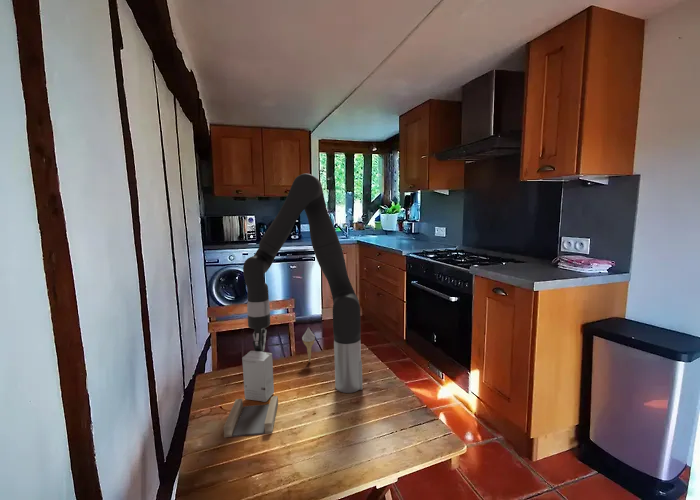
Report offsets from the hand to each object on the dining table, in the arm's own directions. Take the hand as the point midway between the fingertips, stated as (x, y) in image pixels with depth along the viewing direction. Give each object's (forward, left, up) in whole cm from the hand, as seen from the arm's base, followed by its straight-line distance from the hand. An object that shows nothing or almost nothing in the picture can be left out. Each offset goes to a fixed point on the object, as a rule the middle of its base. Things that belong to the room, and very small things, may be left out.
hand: (260, 360), depth 116 cm
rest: (0, +19, -10) cm, 21 cm away
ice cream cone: (-16, -18, -10) cm, 26 cm away
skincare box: (0, +6, -10) cm, 12 cm away
